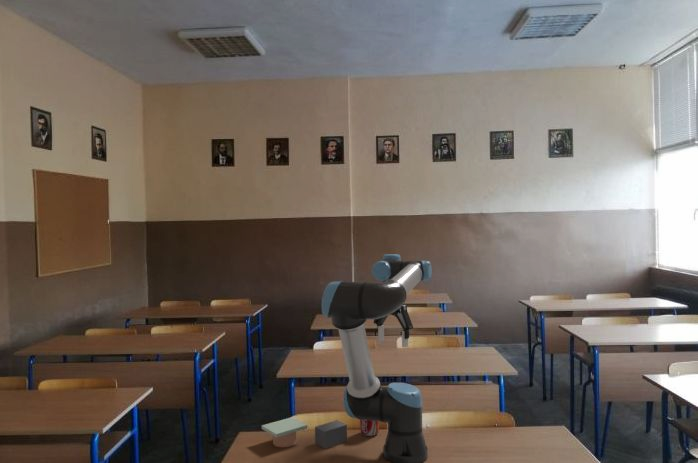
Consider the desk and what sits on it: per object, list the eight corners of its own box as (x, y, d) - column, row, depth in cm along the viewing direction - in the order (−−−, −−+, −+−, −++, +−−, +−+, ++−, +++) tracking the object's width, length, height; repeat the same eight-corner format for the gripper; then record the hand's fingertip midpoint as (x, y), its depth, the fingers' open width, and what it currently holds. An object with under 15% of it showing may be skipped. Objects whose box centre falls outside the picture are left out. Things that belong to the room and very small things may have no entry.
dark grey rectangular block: (346, 441, 181) (346, 424, 181) (324, 448, 175) (324, 431, 175) (337, 436, 186) (336, 420, 186) (315, 443, 179) (314, 426, 179)
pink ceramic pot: (300, 442, 180) (300, 429, 180) (280, 449, 175) (280, 435, 175) (288, 435, 186) (288, 422, 186) (268, 441, 181) (268, 428, 181)
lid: (307, 428, 181) (307, 425, 181) (276, 437, 172) (276, 434, 172) (291, 420, 189) (291, 417, 189) (261, 428, 181) (261, 425, 181)
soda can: (379, 437, 184) (378, 405, 184) (360, 437, 184) (359, 405, 185) (378, 430, 191) (378, 398, 191) (360, 430, 191) (359, 398, 192)
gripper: (421, 293, 195) (422, 347, 195) (377, 289, 214) (378, 338, 214) (408, 295, 190) (409, 350, 190) (364, 290, 209) (365, 340, 209)
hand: (392, 344), depth 202 cm, fingers open, 13 cm apart
